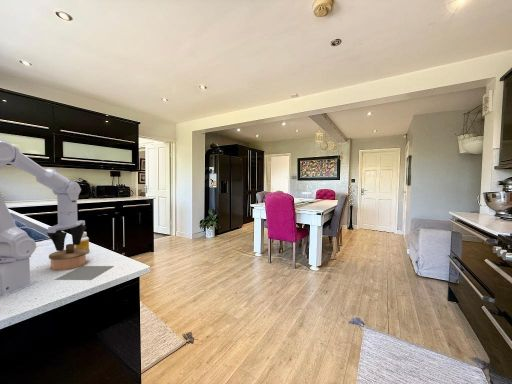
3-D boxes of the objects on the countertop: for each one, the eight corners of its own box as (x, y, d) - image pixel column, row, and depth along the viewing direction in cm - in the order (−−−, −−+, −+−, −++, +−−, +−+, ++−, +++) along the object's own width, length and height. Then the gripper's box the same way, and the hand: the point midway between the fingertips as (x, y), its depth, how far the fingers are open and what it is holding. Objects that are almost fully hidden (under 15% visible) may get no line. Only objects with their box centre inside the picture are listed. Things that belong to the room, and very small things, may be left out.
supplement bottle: (92, 253, 102) (91, 231, 102) (79, 256, 97) (79, 234, 97) (83, 251, 104) (82, 231, 103) (70, 255, 98) (70, 233, 98)
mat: (91, 281, 73) (91, 279, 73) (54, 280, 73) (54, 279, 73) (114, 267, 85) (114, 266, 85) (82, 267, 85) (82, 265, 85)
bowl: (71, 271, 81) (71, 259, 81) (43, 271, 81) (43, 258, 81) (91, 261, 91) (91, 250, 91) (66, 261, 91) (66, 250, 91)
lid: (71, 260, 80) (71, 249, 80) (39, 259, 80) (39, 248, 80) (97, 250, 92) (96, 240, 92) (68, 249, 92) (68, 240, 92)
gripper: (61, 215, 78) (62, 253, 79) (92, 209, 93) (92, 242, 93) (41, 214, 78) (42, 253, 79) (74, 209, 93) (75, 242, 93)
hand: (68, 247), depth 86 cm, fingers open, 7 cm apart
